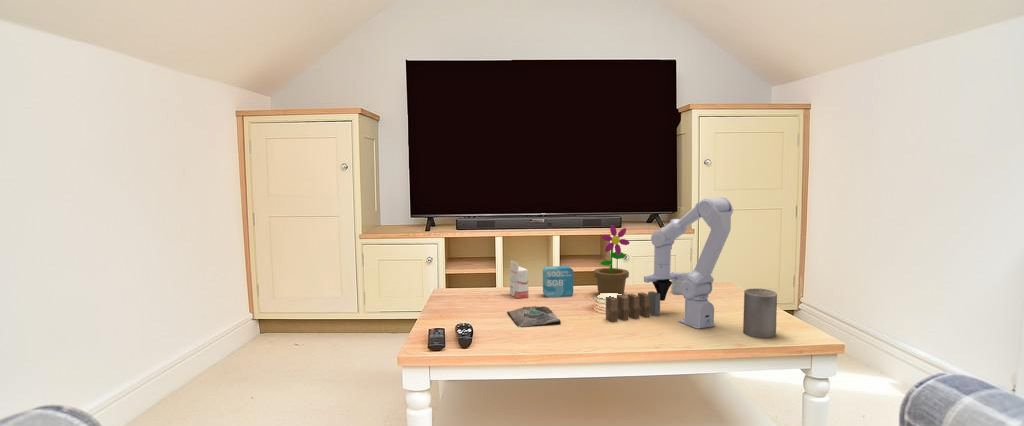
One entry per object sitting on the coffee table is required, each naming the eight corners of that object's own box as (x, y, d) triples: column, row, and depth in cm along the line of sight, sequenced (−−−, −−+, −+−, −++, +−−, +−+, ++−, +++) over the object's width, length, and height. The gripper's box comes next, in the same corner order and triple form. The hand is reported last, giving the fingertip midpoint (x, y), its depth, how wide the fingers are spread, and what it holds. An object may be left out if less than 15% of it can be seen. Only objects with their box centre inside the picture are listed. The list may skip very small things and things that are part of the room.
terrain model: (506, 313, 204) (506, 304, 204) (545, 310, 207) (545, 302, 207) (517, 329, 184) (517, 320, 184) (560, 326, 187) (560, 317, 187)
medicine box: (690, 292, 231) (690, 272, 230) (692, 294, 227) (693, 274, 226) (671, 291, 232) (671, 271, 231) (673, 294, 227) (673, 274, 226)
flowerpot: (602, 301, 218) (602, 226, 215) (588, 292, 231) (588, 222, 228) (634, 298, 221) (635, 225, 219) (618, 290, 235) (619, 221, 232)
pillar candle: (748, 327, 182) (749, 283, 181) (779, 332, 176) (781, 287, 175) (739, 334, 175) (740, 289, 173) (771, 340, 169) (773, 293, 167)
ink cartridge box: (529, 297, 224) (529, 262, 223) (518, 299, 222) (518, 263, 221) (520, 293, 232) (519, 259, 230) (509, 294, 230) (509, 260, 228)
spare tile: (659, 315, 197) (660, 293, 196) (655, 316, 196) (655, 294, 195) (652, 312, 201) (652, 291, 200) (647, 313, 200) (648, 291, 199)
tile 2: (649, 317, 195) (649, 295, 194) (644, 317, 194) (645, 295, 194) (642, 313, 199) (642, 292, 198) (637, 314, 198) (637, 293, 198)
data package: (545, 297, 224) (545, 268, 223) (542, 295, 228) (542, 266, 227) (573, 296, 226) (573, 267, 225) (570, 293, 230) (570, 265, 229)
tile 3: (639, 318, 193) (639, 296, 193) (634, 319, 193) (634, 297, 192) (631, 315, 197) (632, 293, 197) (627, 316, 197) (627, 294, 196)
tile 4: (628, 320, 192) (628, 297, 191) (623, 320, 191) (623, 298, 190) (621, 316, 196) (621, 295, 195) (616, 317, 195) (616, 295, 194)
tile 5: (617, 321, 190) (617, 299, 189) (612, 322, 189) (612, 299, 188) (610, 318, 194) (610, 296, 193) (605, 318, 193) (605, 296, 192)
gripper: (671, 260, 204) (670, 295, 206) (639, 263, 199) (638, 299, 200) (684, 263, 198) (683, 299, 199) (650, 266, 192) (650, 304, 194)
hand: (661, 300), depth 199 cm, fingers closed
